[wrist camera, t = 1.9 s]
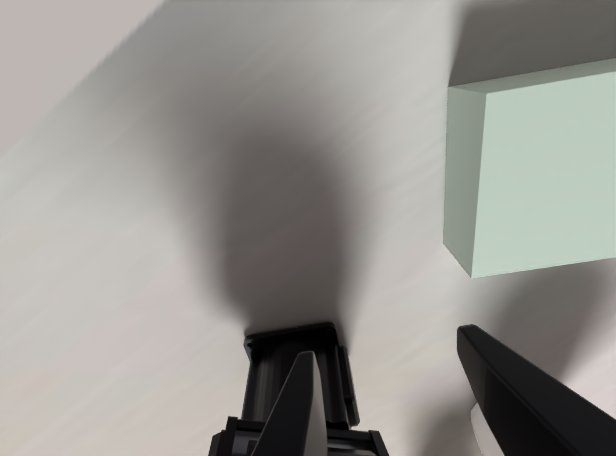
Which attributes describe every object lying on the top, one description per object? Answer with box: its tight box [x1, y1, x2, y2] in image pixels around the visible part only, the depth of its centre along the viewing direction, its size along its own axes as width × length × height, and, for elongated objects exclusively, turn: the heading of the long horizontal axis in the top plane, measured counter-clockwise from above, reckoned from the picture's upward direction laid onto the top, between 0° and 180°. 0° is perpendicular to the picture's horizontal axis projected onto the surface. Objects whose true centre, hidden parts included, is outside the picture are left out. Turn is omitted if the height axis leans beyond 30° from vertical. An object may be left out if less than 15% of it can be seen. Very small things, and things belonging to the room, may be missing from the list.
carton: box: [443, 58, 616, 279], centre depth 17 cm, size 10×9×4 cm
